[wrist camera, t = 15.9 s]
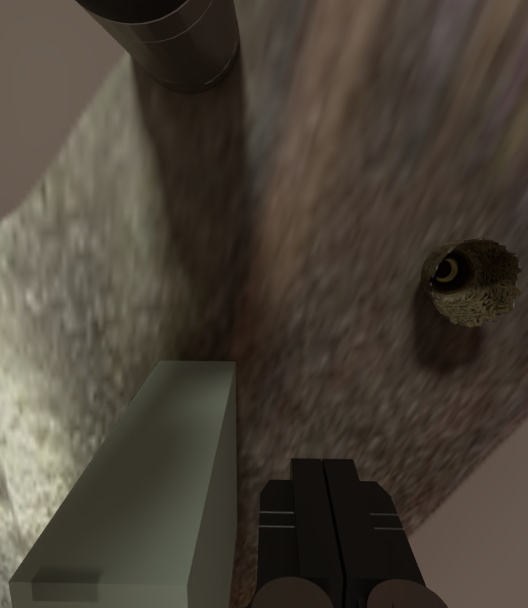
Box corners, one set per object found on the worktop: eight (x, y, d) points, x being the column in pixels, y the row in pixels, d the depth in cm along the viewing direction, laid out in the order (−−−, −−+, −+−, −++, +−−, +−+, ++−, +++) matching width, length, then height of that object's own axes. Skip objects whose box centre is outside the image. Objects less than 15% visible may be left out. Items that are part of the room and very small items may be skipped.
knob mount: (167, 524, 52) (54, 883, 25) (159, 360, 48) (8, 582, 20) (237, 525, 52) (199, 887, 25) (235, 361, 47) (186, 585, 20)
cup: (475, 306, 46) (517, 329, 38) (402, 305, 46) (428, 328, 38) (484, 231, 44) (530, 239, 36) (407, 230, 44) (437, 238, 36)
